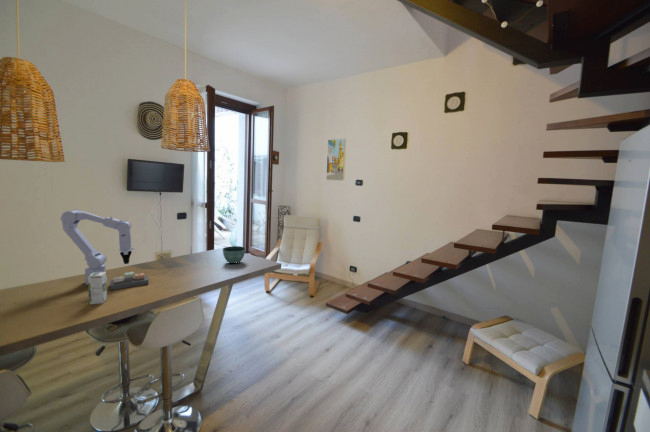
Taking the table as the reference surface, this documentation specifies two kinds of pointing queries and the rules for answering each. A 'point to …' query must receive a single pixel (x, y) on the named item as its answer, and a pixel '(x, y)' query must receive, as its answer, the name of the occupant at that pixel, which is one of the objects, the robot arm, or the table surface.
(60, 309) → the table surface
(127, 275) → the sage key
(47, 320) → the table surface
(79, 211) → the robot arm
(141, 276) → the terracotta key
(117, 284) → the keypad plate
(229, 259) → the flower pot
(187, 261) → the table surface
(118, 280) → the ivory key
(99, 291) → the syrup box
